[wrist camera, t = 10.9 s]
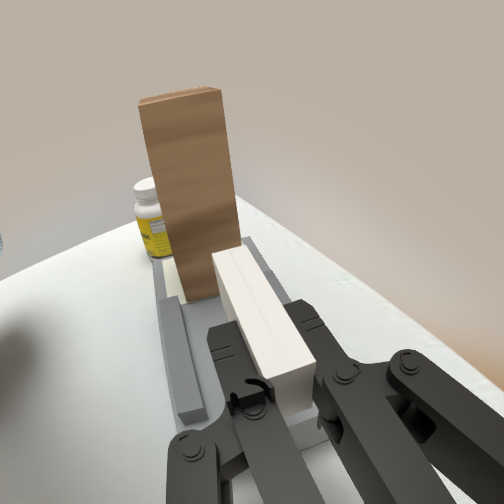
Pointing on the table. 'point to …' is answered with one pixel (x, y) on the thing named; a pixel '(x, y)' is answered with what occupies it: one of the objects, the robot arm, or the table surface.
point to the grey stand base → (207, 353)
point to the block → (192, 181)
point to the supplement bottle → (151, 220)
